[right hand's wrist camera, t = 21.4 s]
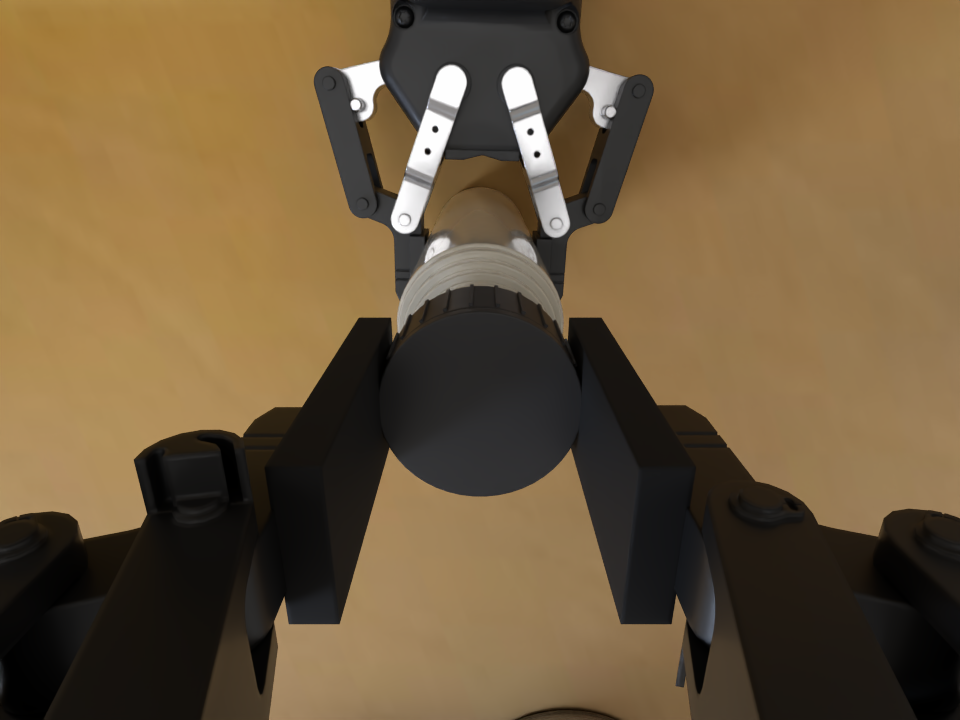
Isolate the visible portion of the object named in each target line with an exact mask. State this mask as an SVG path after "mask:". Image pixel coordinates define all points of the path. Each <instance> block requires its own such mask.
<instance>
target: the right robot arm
mask: <svg viewBox="0 0 960 720" xmlns="http://www.w3.org/2000/svg"><path fill="white" fill-rule="evenodd" d="M568 343H569V346H570V348H571V350H572V353H573V355H574V358H575V360H576V363H577V365H578V366H576V367H575V368H576V371H577V374H578V377H579V379H580V383H581V388H582V393H581V408H580V422H579V431H578V434H577V436H576V439H575V441H574V443H573V444H572V446H571V449H572V453H573V457H574V460H575V464H576V467H577V471H578V474H579V478H580V481H581V485H582V488H583V492H584V495H585V499H586V503H587V506H588V510H589V513H590V517H591V520H592V524H593V527H594V531H595V534H596V538H597V541H598V545H599V549H600V552H601V556H602V559H603V563H604V566H605V570H606V573H607V577H608V580H609V584H610V587H611V591H612V594H613V598H614V602H615V605H616V609H617V612H618V616H619V619H620V623H621V624H672V618H673V611H674V605H675V599H676V594H677V597H678V599H679V601H680V604H681V606H682V609H683V611H684V613H685V616H686V618H687V619H686V625H685V631H684V637H683V643H682V649H681V655H680V661H679V667H678V673H677V680H676V686H679V687H684V683H685V677H686V680H687V688H688V696H689V704H690V712H691V720H960V518H958V517H955V516H952V515H949V514H942V512H936V511H931V510H917V509H904V510H898V511H892V512H891V513H890V514H889V515H887V516H886V517H885V518H884V520H883V523H882V526H881V530H880V533H879V536H878V537H876V536H871V535H866V534H861V533H856V532H850V531H845V530H840V529H835V528H830V527H826V526H822V525H818V523H817V521H816V519H815V517H814V515H813V513H812V512H811V511H810V510H809V508H808V507H807V506H806V505H805V504H804V502H802V501H801V500H799V499H798V498H796V497H795V496H793V495H792V494H790V493H789V492H787V491H784V490H782V489H779V488H777V487H774V486H772V485H769V484H765V483H760V482H756V481H755V480H754V479H753V478H752V476H751V475H750V474H749V472H748V471H747V470H746V469H745V467H744V466H743V465H742V463H741V462H740V461H739V460H738V458H737V457H736V456H735V454H734V453H733V452H732V451H731V449H730V448H727V444H726V443H725V442H724V440H723V439H722V438H721V436H720V435H717V431H716V430H715V429H714V427H713V426H712V425H711V424H710V422H709V421H708V420H707V418H705V417H704V416H702V415H701V414H699V413H697V412H696V411H694V410H692V409H691V408H689V407H687V406H686V405H657V404H656V403H655V401H654V400H653V398H652V397H651V395H650V393H649V392H648V390H647V389H646V387H645V386H644V384H643V382H642V381H641V379H640V378H639V376H638V375H637V373H636V371H635V370H634V368H633V367H632V365H631V364H630V362H629V360H628V359H627V357H626V356H625V354H624V353H623V351H622V349H621V348H620V346H619V345H618V343H617V342H616V340H615V338H614V337H613V335H612V334H611V332H610V331H609V329H608V327H607V326H606V324H605V323H604V321H603V320H602V318H569V332H568ZM391 345H392V325H391V318H359V319H358V320H357V322H356V323H355V325H354V326H353V328H352V330H351V331H350V333H349V334H348V336H347V337H346V339H345V341H344V342H343V344H342V345H341V347H340V348H339V350H338V352H337V353H336V355H335V356H334V358H333V360H332V361H331V363H330V364H329V366H328V367H327V369H326V371H325V372H324V374H323V375H322V377H321V378H320V380H319V382H318V383H317V385H316V386H315V388H314V389H313V391H312V393H311V394H310V396H309V397H308V399H307V400H306V402H305V404H304V405H303V407H275V408H273V409H272V410H270V411H268V412H267V413H265V414H263V415H262V416H260V417H259V418H257V419H255V420H254V421H253V423H252V424H251V425H250V427H249V428H248V429H247V430H246V432H245V433H244V434H243V437H241V438H240V437H239V436H238V435H236V434H235V433H231V432H227V431H223V430H199V431H193V432H187V433H181V434H178V435H175V436H172V437H169V438H166V439H163V440H160V441H159V442H157V443H155V444H153V445H151V446H150V447H148V448H146V449H144V450H143V451H142V452H141V453H140V454H139V455H138V456H137V457H136V458H135V459H134V463H135V467H136V471H137V475H138V479H139V483H140V487H141V491H142V495H143V499H144V503H145V507H146V511H147V516H146V518H145V520H144V522H143V524H142V526H141V528H137V529H133V530H129V531H124V532H119V533H114V534H108V535H103V536H98V537H93V538H88V539H83V538H82V534H81V531H80V528H79V525H78V521H77V520H75V519H74V518H73V517H72V516H70V515H69V514H65V513H59V512H53V511H52V512H41V513H29V514H24V515H20V517H17V516H15V517H12V518H9V519H6V520H3V521H2V522H0V720H269V713H270V705H271V697H272V690H273V682H274V674H275V666H276V658H277V650H278V645H277V638H276V631H275V625H274V620H275V617H276V615H277V613H278V610H279V608H280V605H281V603H282V601H283V598H284V596H285V602H286V609H287V615H288V622H289V624H340V621H341V617H342V614H343V610H344V606H345V603H346V599H347V596H348V592H349V589H350V585H351V582H352V578H353V575H354V571H355V568H356V564H357V560H358V557H359V553H360V550H361V546H362V543H363V539H364V536H365V532H366V529H367V525H368V522H369V518H370V514H371V511H372V507H373V504H374V500H375V497H376V493H377V490H378V486H379V483H380V479H381V476H382V472H383V468H384V465H385V461H386V458H387V454H388V451H389V445H388V443H387V441H386V439H385V437H384V434H383V432H382V429H381V416H380V402H379V386H380V382H381V378H382V376H383V373H384V370H385V368H386V365H387V363H388V360H387V359H386V357H387V355H388V353H389V350H390V348H391ZM519 720H615V719H612V718H610V717H607V716H604V715H601V714H596V713H592V712H585V711H575V710H560V711H549V712H543V713H538V714H534V715H530V716H527V717H524V718H521V719H519Z"/></svg>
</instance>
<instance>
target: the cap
mask: <svg viewBox="0 0 960 720" xmlns="http://www.w3.org/2000/svg"><path fill="white" fill-rule="evenodd" d="M386 359H387V360H388V363H387V365H386V368H385V370H384V373H383V376H382V378H381V382H380V386H379V402H380V416H381V429H382V432H383V434H384V437H385V439H386V441H387V443H388V445H389V447H390V449H391V450H392V452H393V453H394V454H395V456H396V457H397V459H398V460H399V461H400V462H401V463H402V464H403V465H404V466H405V467H406V468H407V469H408V470H409V471H410V472H412V473H413V474H414V475H415V476H417V477H418V478H420V479H421V480H423V481H424V482H426V483H428V484H430V485H432V486H434V487H436V488H439V489H442V490H444V491H447V492H451V493H455V494H459V495H466V496H495V495H501V494H506V493H510V492H513V491H516V490H519V489H522V488H524V487H526V486H529V485H531V484H533V483H535V482H536V481H538V480H539V479H541V478H543V477H544V476H545V475H547V474H548V473H549V472H550V471H552V470H553V469H554V468H555V467H556V466H557V465H558V464H559V463H560V462H561V461H562V459H563V458H564V457H565V455H566V454H567V453H568V451H569V450H570V448H571V446H572V444H573V443H574V441H575V439H576V436H577V434H578V431H579V422H580V408H581V393H582V388H581V383H580V379H579V377H578V374H577V371H576V368H575V367H576V366H578V365H577V363H576V360H575V358H574V355H573V353H572V350H571V348H570V346H569V343H568V341H567V339H564V338H563V335H562V333H561V330H560V328H559V325H558V323H557V321H556V319H555V320H552V318H551V317H550V316H549V315H548V314H547V313H546V312H545V311H544V310H543V308H542V305H541V304H539V303H538V304H536V303H534V302H533V301H531V300H529V299H528V298H526V297H524V296H522V294H521V292H519V291H518V292H517V293H515V292H513V291H510V290H506V289H503V288H498V285H494V287H491V286H474V284H470V287H462V288H458V289H454V290H450V289H447V290H446V292H445V293H443V294H440V295H438V296H437V297H435V298H433V299H431V300H429V299H427V300H425V303H424V305H423V306H421V307H420V308H419V309H418V310H417V311H416V312H415V313H414V314H413V315H411V314H409V316H408V317H407V320H406V323H405V325H404V326H403V328H402V330H401V331H400V333H398V332H397V333H396V335H395V338H394V340H393V343H392V345H391V348H390V350H389V353H388V355H387V357H386Z"/></svg>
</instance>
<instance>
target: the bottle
mask: <svg viewBox="0 0 960 720" xmlns="http://www.w3.org/2000/svg"><path fill="white" fill-rule="evenodd" d="M470 284H474V286H491V287H494V285H498V288H503V289H506V290H510V291H513V292H515V293H517V292H518V291H519V292H521V294H522V296H524V297H526V298H528V299H529V300H531V301H533V302H534V303H536V304H538V303H539V304H541V305H542V308H543V310H544V311H545V312H546V313H547V314H548V315H549V316H550V317H551V318H552V320H555V319H556V321H557V323H558V325H559V328H560V330H561V333H562V335H563V325H564V320H563V310H562V305H561V301H560V298H559V295H558V292H557V290H556V288H555V286H554V284H553V282H552V279H551V277H550V275H549V273H548V271H547V269H546V267H545V265H544V262H543V260H542V258H541V256H540V254H539V252H538V250H537V248H536V245H535V243H534V241H533V239H532V237H531V235H530V233H529V231H528V228H527V226H526V224H525V222H524V220H523V218H522V216H521V214H520V212H519V210H518V208H517V207H516V205H515V204H514V203H513V201H512V200H511V199H510V198H508V197H507V196H506V195H504V194H503V193H501V192H499V191H497V190H494V189H491V188H485V187H475V188H470V189H466V190H464V191H461V192H459V193H458V194H456V195H455V196H453V197H452V198H451V199H450V200H449V201H448V202H447V203H446V204H445V206H444V207H443V209H442V210H441V212H440V214H439V217H438V219H437V221H436V223H435V225H434V227H433V229H432V231H431V234H430V236H429V238H428V240H427V242H426V244H425V246H424V249H423V251H422V253H421V255H420V257H419V259H418V261H417V263H416V266H415V268H414V270H413V272H412V274H411V276H410V278H409V281H408V283H407V285H406V287H405V289H404V292H403V294H402V297H401V299H400V303H399V307H398V314H397V332H398V333H400V331H401V330H402V328H403V326H404V325H405V323H406V320H407V317H408V316H409V314H411V315H413V314H414V313H415V312H416V311H417V310H418V309H419V308H420V307H421V306H423V305H424V303H425V300H427V299H429V300H431V299H433V298H435V297H437V296H438V295H440V294H443V293H445V292H446V290H447V289H450V290H454V289H458V288H462V287H470Z"/></svg>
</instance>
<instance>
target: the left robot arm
mask: <svg viewBox="0 0 960 720" xmlns="http://www.w3.org/2000/svg"><path fill="white" fill-rule="evenodd" d="M581 4H582V0H391V25H390V31H389V35H388V38H387V41H386V43H385V45H384V47H383V49H382V51H381V54H380V59H379V60H377V61H373V62H368V63H364V64H360V65H356V66H352V67H348V68H343V69H337V68H334V67H329V66H327V67H323V68H321V69H319V70H318V71H317V73H316V75H315V77H314V86H315V90H316V93H317V97H318V100H319V104H320V107H321V111H322V114H323V118H324V121H325V125H326V128H327V132H328V135H329V139H330V142H331V145H332V149H333V152H334V156H335V159H336V163H337V166H338V170H339V173H340V177H341V180H342V184H343V187H344V191H345V194H346V198H347V201H348V205H349V208H350V210H351V212H352V213H353V214H354V215H355V216H357V217H359V218H370V219H372V220H375V221H378V222H380V223H383V224H385V225H386V226H387V227H388V228H389V229H390V230H391V231H392V233H393V236H394V247H395V284H396V293H397V296H398V298H399V300H400V299H401V297H402V294H403V292H404V289H405V287H406V285H407V283H408V281H409V278H410V276H411V274H412V272H413V270H414V268H415V266H416V263H417V261H418V259H419V257H420V255H421V253H422V251H423V249H424V246H425V244H426V242H427V240H428V238H429V229H424V213H425V210H426V207H427V205H428V202H429V199H430V196H431V193H432V191H433V188H434V185H435V182H436V180H437V177H438V175H439V172H440V169H441V167H442V164H443V161H444V158H445V159H457V160H464V159H468V158H472V157H476V156H480V155H484V156H488V157H491V158H494V159H497V160H500V161H520V164H521V168H522V171H523V174H524V177H525V180H526V183H527V186H528V189H529V193H530V196H531V199H532V203H533V206H534V209H535V213H536V216H537V219H538V229H537V231H533V235H532V239H533V241H534V243H535V245H536V248H537V250H538V252H539V254H540V256H541V258H542V260H543V262H544V265H545V267H546V269H547V271H548V273H549V275H550V277H551V279H552V282H553V284H554V286H555V288H556V290H557V292H558V295H559V298H560V300H561V298H562V296H563V286H564V273H565V260H566V248H567V241H568V238H569V236H570V235H571V234H572V233H573V232H574V231H575V230H577V229H579V228H581V227H584V226H587V225H590V224H593V223H596V224H600V223H603V222H605V221H607V220H608V219H609V218H610V217H611V215H612V213H613V210H614V207H615V204H616V201H617V198H618V195H619V192H620V189H621V186H622V184H623V181H624V178H625V175H626V172H627V169H628V166H629V163H630V160H631V157H632V154H633V151H634V148H635V145H636V143H637V140H638V137H639V134H640V131H641V128H642V125H643V122H644V119H645V116H646V113H647V110H648V107H649V105H650V102H651V99H652V96H653V91H654V87H653V83H652V81H651V80H650V79H649V78H648V77H647V76H645V75H635V76H632V77H624V76H621V75H618V74H615V73H611V72H608V71H605V70H601V69H598V68H595V67H591V66H589V59H588V56H587V54H586V52H585V49H584V47H583V43H582V40H581V34H580V17H581ZM385 86H387V88H388V89H389V91H390V92H391V94H392V95H393V97H394V98H395V100H396V101H397V103H398V104H399V106H400V107H401V108H402V110H403V111H404V113H405V114H406V116H407V117H408V119H409V120H410V122H411V123H412V125H413V126H414V128H415V129H416V131H417V132H418V134H417V137H416V140H415V143H414V146H413V149H412V152H411V155H410V158H409V161H408V164H407V167H406V170H405V175H404V179H403V182H402V185H401V188H400V191H399V194H398V195H397V194H395V193H392V192H390V191H387V190H385V189H383V186H382V182H381V179H380V175H379V171H378V167H377V163H376V160H375V156H374V152H373V148H372V144H371V140H370V137H369V133H368V129H367V125H366V121H369V120H371V119H372V118H373V117H374V116H375V114H376V112H377V95H378V93H379V91H380V90H381V89H382V88H383V87H385ZM581 92H583V93H584V94H585V95H586V96H587V97H588V99H589V102H590V110H589V118H590V120H591V122H592V124H593V125H595V126H596V127H599V128H600V129H599V132H598V135H597V138H596V141H595V144H594V148H593V151H592V154H591V157H590V160H589V163H588V167H587V170H586V173H585V176H584V179H583V182H582V185H581V189H580V192H579V194H578V195H575V196H572V197H569V198H566V199H564V197H563V194H562V190H561V186H560V183H559V176H558V172H557V168H556V164H555V161H554V157H553V154H552V150H551V146H550V143H549V139H548V135H549V134H550V132H551V131H552V130H553V128H554V127H555V126H556V124H557V123H558V122H559V120H560V119H561V118H562V116H563V115H564V114H565V112H566V111H567V110H568V108H569V107H570V106H571V104H572V103H573V102H574V100H575V99H576V98H577V96H578V95H579V94H580V93H581Z"/></svg>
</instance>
